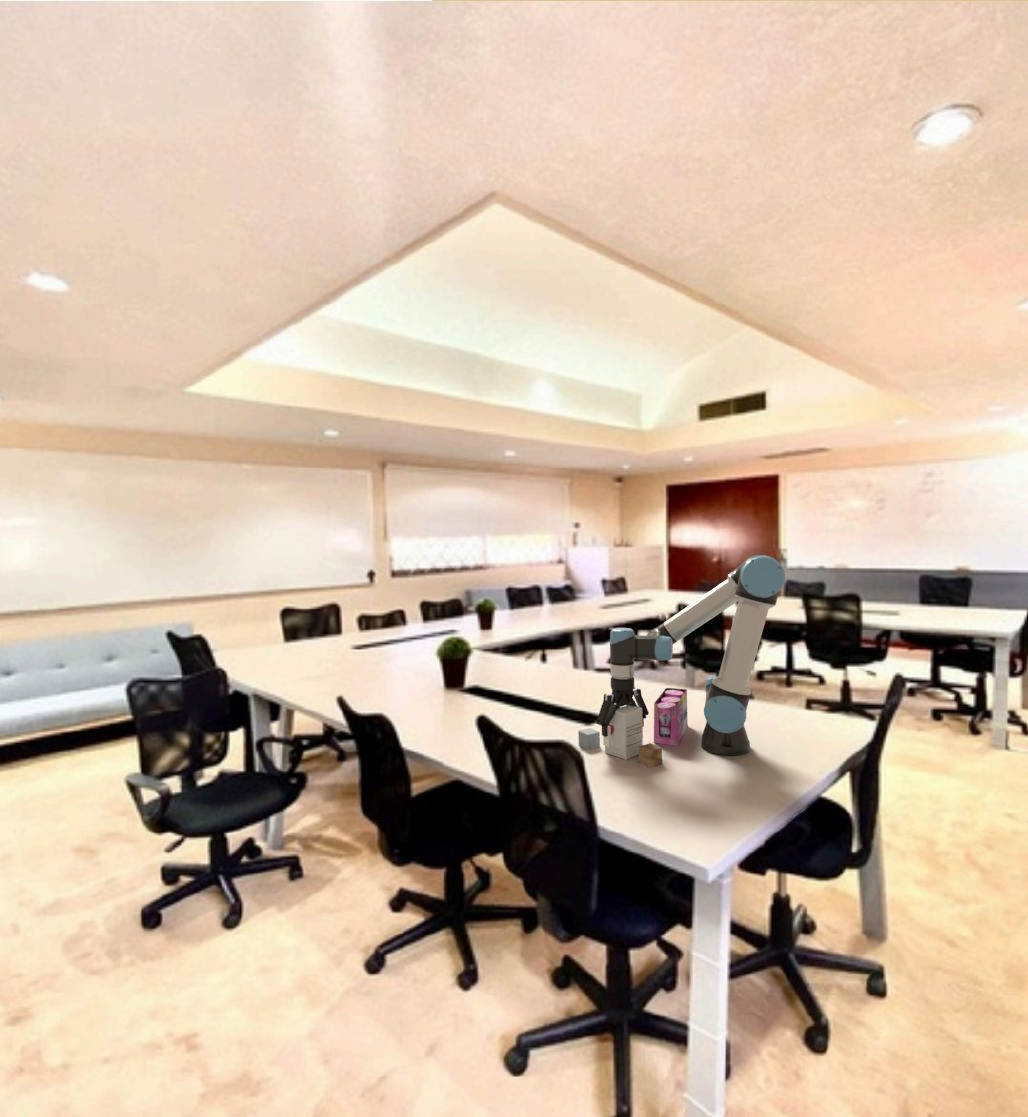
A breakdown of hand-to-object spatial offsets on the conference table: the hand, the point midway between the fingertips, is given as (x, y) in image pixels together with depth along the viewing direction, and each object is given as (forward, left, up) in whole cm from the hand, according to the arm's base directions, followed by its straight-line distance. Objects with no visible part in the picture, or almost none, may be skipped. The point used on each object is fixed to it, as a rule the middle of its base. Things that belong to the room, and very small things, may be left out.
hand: (623, 741), depth 193 cm
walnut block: (-1, +11, -4) cm, 12 cm away
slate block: (+5, -11, -4) cm, 13 cm away
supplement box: (0, 0, -4) cm, 4 cm away
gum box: (-26, -4, -4) cm, 26 cm away
